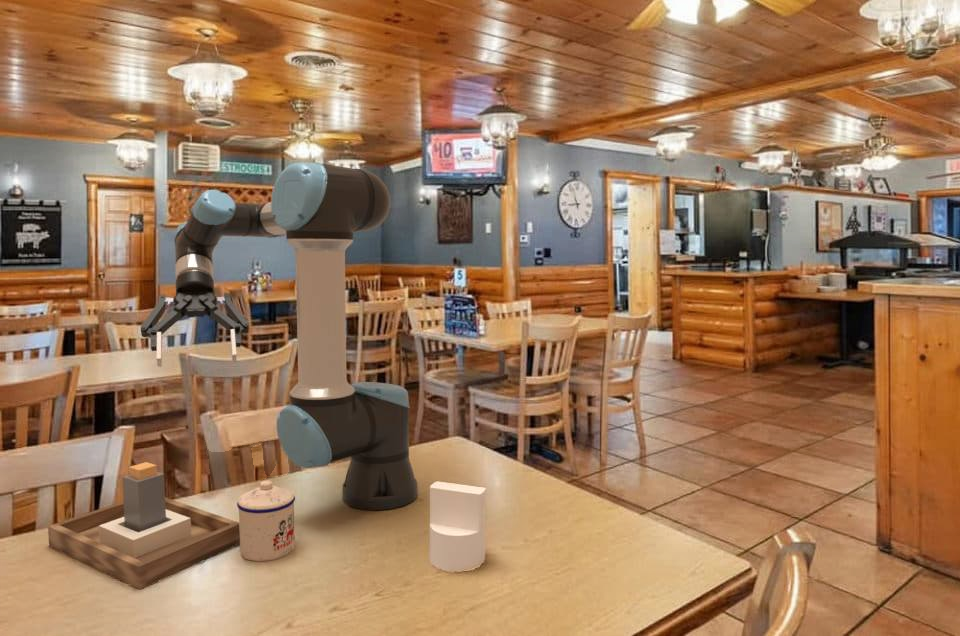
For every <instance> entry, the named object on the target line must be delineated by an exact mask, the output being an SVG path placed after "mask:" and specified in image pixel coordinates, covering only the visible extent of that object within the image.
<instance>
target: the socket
mask: <svg viewBox="0 0 960 636" xmlns="http://www.w3.org/2000/svg"><path fill="white" fill-rule="evenodd" d="M190 535H191V518H189V517H186V516H183V515H180V514H178V513H175V512H172V511H169V510H166V522H165V523H162V524H160V525H157V526H154V527H152V528H149V529H146V530H144V531H141V532H136V531H133V530H131V529H128V528H126V527H125V520H124V517H122V518H119V519H116V520H113V521H110V522H108V523H105V524H102V525H99V542H100V543H101V544H103V545H106V546H108V547H110V548H112V549H115V550H117V551H119V552H121V553H124V554H126V555H128V556H130V557H133V558H136V557H139V556H141V555H144V554H146V553H149V552H151V551H153V550H156V549H158V548H161V547H163V546H166V545H168V544H171V543H173V542H175V541H178V540H180V539H183V538H185V537H188V536H190Z"/></svg>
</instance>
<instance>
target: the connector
mask: <svg viewBox="0 0 960 636" xmlns="http://www.w3.org/2000/svg"><path fill="white" fill-rule="evenodd" d="M165 486H166V485H165V473H161V472H159V471H158V465H157V464H154V463H150V462H147V461H145V462H142V463H138V464H135V465H131V466H128V474H127V475H124V476H122V493H123V494H122V497H123V499H122V500H123V501H124V520H125V527H126V528H128V529H131V530H133V531H136V532H141V531H144V530H146V529H149V528H152V527H154V526H157V525H160V524H162V523H165V522H166V509H165V497H166V493H165V492H166V490H165V488H166V487H165Z"/></svg>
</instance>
